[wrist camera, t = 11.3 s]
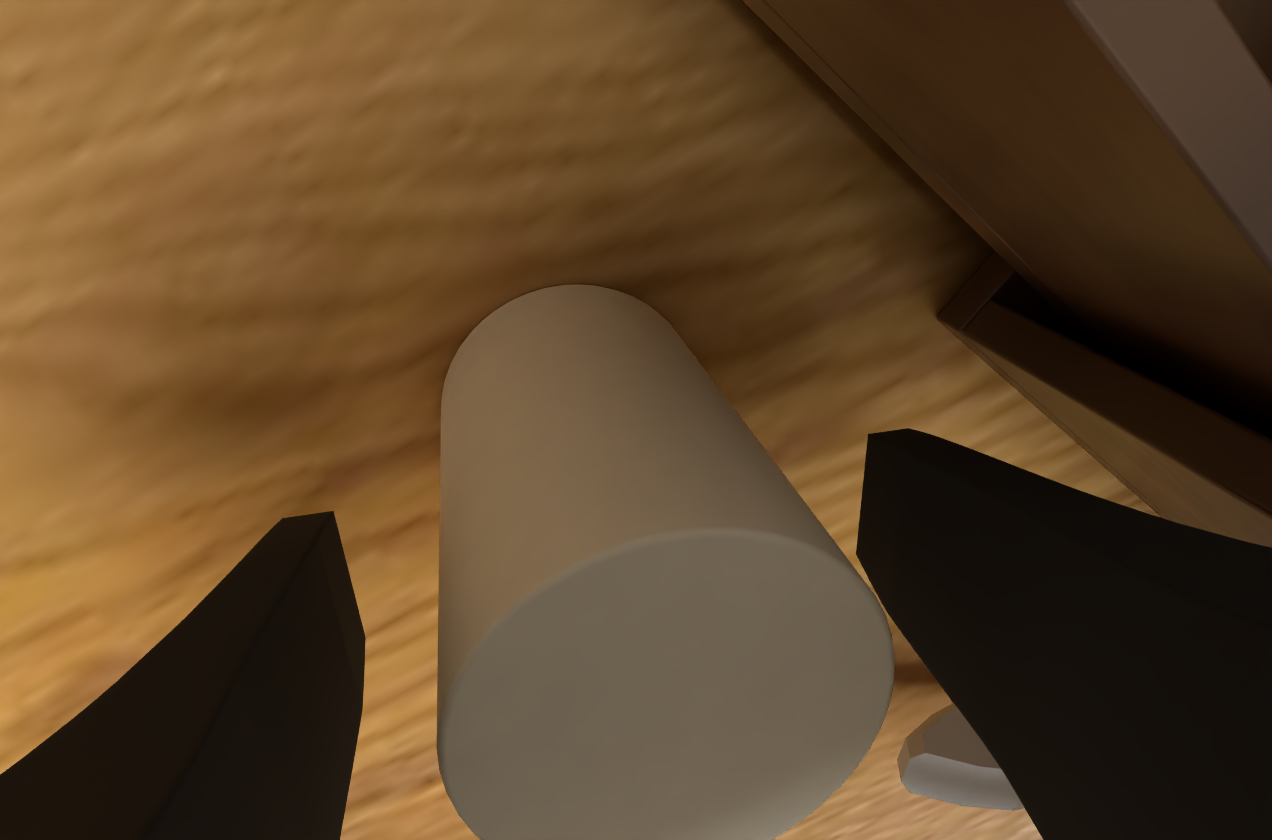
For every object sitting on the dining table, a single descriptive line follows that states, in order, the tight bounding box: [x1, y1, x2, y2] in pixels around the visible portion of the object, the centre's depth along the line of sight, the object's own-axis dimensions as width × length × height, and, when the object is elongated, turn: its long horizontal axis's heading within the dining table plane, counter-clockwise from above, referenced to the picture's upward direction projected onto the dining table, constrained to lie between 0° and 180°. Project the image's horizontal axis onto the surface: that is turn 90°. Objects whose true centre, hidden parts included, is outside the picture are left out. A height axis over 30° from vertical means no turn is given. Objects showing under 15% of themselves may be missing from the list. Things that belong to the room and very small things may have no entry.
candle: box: [437, 284, 895, 840], centre depth 11 cm, size 5×5×8 cm
